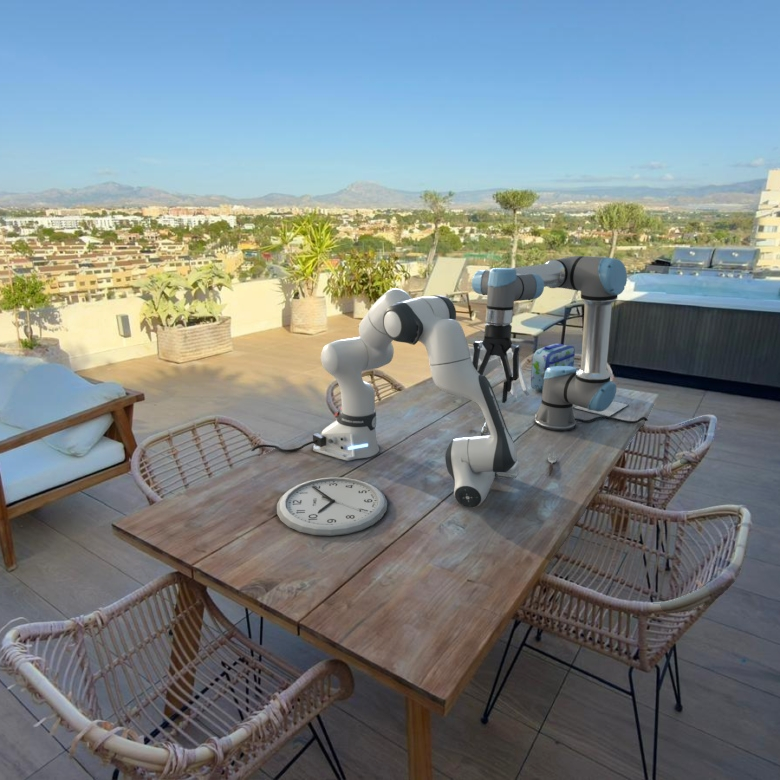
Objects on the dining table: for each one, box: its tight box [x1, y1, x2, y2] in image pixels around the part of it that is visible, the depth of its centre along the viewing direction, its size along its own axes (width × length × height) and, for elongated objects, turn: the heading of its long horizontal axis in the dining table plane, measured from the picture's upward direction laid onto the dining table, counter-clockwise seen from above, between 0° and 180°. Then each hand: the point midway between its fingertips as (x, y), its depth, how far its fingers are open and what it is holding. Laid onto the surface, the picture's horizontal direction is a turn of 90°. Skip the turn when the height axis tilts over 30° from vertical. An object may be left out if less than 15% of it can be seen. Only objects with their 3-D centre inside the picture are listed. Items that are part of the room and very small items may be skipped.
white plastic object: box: [468, 345, 531, 400], centre depth 245 cm, size 37×45×31 cm
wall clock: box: [276, 476, 388, 537], centre depth 142 cm, size 30×2×30 cm
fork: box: [547, 451, 558, 477], centre depth 168 cm, size 3×16×2 cm, turn 160°
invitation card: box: [573, 400, 629, 417], centre depth 226 cm, size 21×1×15 cm
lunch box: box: [530, 343, 576, 391], centre depth 249 cm, size 26×11×21 cm, turn 134°
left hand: (488, 453), depth 163 cm, fingers open, 7 cm apart
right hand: (492, 399), depth 156 cm, fingers open, 6 cm apart
